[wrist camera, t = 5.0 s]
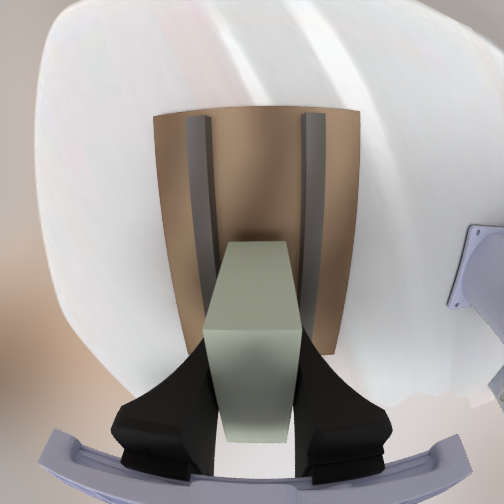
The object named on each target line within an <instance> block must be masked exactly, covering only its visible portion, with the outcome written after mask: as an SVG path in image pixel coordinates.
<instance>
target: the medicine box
mask: <svg viewBox="0 0 504 504" xmlns="http://www.w3.org/2000/svg"><path fill="white" fill-rule="evenodd" d="M489 387H490V389H491V390H492V392H493V394H494V396H495V397H496V399H497V401H498V403H499V405H500V407H501V408H502V411H503V412H504V366H503V367H502V369H501V370H500V371H499V372H498V373H497V375H496V376H495V377H494V378H493V379H492V381H491V382H490V383H489Z"/></svg>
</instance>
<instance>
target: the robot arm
mask: <svg viewBox="0 0 504 504" xmlns="http://www.w3.org/2000/svg"><path fill="white" fill-rule="evenodd" d="M477 230H478V231H477ZM476 232H477V233H476ZM471 306H472V307H473V308H474V309H475V310H476V311H477V312H478V314H479V315H480V316H481V317H482V318H483V319H484V320H485V322H486V323H487V324H488V325H489V326H490V328H491V329H492V330H493V331H494V332H495V334H496V335H497V336H498V337H499V339H500V340H501V341H502V342H503V344H504V227H492V226H478V225H472V226H471V227H470V228H469V231H468V236H467V240H466V245H465V249H464V253H463V257H462V260H461V264H460V268H459V271H458V275H457V278H456V281H455V284H454V287H453V290H452V293H451V296H450V299H449V302H448V308H449V309H450V310H453V309H459V308H465V307H471ZM301 325H302V324H301ZM293 410H294V426H295V478H285V479H243V478H226V477H215V476H214V457H215V441H216V429H217V420H218V412H219V407H218V403H217V399H216V394H215V390H214V385H213V380H212V376H211V371H210V366H209V361H208V356H207V351H206V346H205V340H204V337H203V339H202V340H201V341H200V343H199V344H198V345H197V347H196V348H195V349H194V351H193V352H192V353H191V354H190V355H189V356H188V358H187V359H186V360H185V361H184V362H183V363H182V364H181V365H180V366H179V367H178V368H177V369H176V370H175V371H174V372H173V373H172V374H171V375H170V376H169V377H167V378H166V379H165V380H164V381H163V382H161V383H160V384H159V385H157V386H156V387H155V388H153V389H152V390H150V391H149V392H147V393H145V394H144V395H142V396H141V397H139V398H137V399H135V400H133V401H131V402H129V403H127V404H125V405H123V406H121V408H120V410H119V411H118V413H117V415H116V417H115V420H114V422H113V425H112V427H111V433H112V435H113V437H114V438H115V439H116V440H117V441H118V443H119V444H120V445H121V446H122V447H123V448H124V452H123V455H122V458H119V457H116V456H113V455H110V454H107V453H104V452H101V451H98V450H95V449H93V448H90V447H87V446H85V445H82V444H81V443H80V442H79V440H78V439H76V438H75V437H74V436H72V435H70V434H68V433H66V432H63V431H61V430H59V429H57V428H55V429H54V430H53V432H52V434H51V436H50V438H49V440H48V442H47V444H46V446H45V449H44V451H43V453H42V455H41V457H40V459H39V461H38V464H39V465H40V466H41V467H43V468H44V469H45V470H47V471H48V472H49V473H51V474H52V475H54V476H55V477H56V478H58V479H59V480H61V481H62V482H64V483H65V484H67V485H70V486H71V487H73V488H75V489H77V490H79V491H81V492H84V493H86V494H88V495H90V496H93V497H95V498H97V499H99V500H101V501H104V502H106V503H109V504H417V503H419V502H422V501H424V500H427V499H429V498H431V497H434V496H436V495H438V494H440V493H442V492H444V491H446V490H448V489H449V488H451V487H453V486H454V485H456V484H457V483H459V482H460V481H462V480H463V479H465V478H466V477H467V476H469V475H470V474H472V472H473V471H472V468H471V466H470V463H469V460H468V457H467V455H466V452H465V449H464V447H463V445H462V442H461V439H460V437H459V435H458V434H456V435H453V436H451V437H448V438H446V439H443V440H441V441H439V442H437V443H436V444H435V445H433V446H432V447H431V448H430V450H428V451H426V452H423V453H420V454H417V455H414V456H411V457H408V458H404V459H401V460H397V461H394V462H390V463H386V464H384V460H383V456H382V455H383V454H384V448H383V445H384V443H385V442H386V440H387V439H388V438H389V437H390V435H391V434H392V430H393V429H392V425H391V422H390V420H389V418H388V416H387V414H386V412H385V410H383V409H382V408H380V407H378V406H377V405H375V404H373V403H371V402H370V401H368V400H367V399H365V398H364V397H362V396H361V395H360V394H358V393H357V392H356V391H355V390H353V389H352V388H351V387H350V386H349V385H347V384H346V383H345V382H344V381H343V380H342V379H341V378H340V377H339V376H338V375H337V374H336V373H335V372H334V371H333V370H332V368H331V367H330V366H329V365H328V364H327V362H326V361H325V360H324V359H323V357H322V356H321V355H320V353H319V352H318V350H317V349H316V347H315V346H314V344H313V343H312V341H311V339H310V338H309V336H308V334H307V332H306V330H305V328H304V326H303V325H302V336H301V345H300V354H299V362H298V370H297V378H296V385H295V392H294V399H293Z"/></svg>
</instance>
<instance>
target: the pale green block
mask: <svg viewBox="0 0 504 504" xmlns="http://www.w3.org/2000/svg"><path fill="white" fill-rule="evenodd" d="M203 335H204V340H205V346H206V351H207V356H208V361H209V366H210V371H211V376H212V380H213V385H214V390H215V394H216V399H217V403H218V407H219V412H220V416H221V420H222V424H223V428H224V432H225V436H226V440H227V442H237V443H286V442H287V435H288V430H289V424H290V418H291V412H292V406H293V399H294V392H295V385H296V378H297V370H298V362H299V354H300V345H301V336H302V325H301V320H300V314H299V308H298V302H297V297H296V291H295V286H294V280H293V275H292V270H291V265H290V259H289V254H288V249H287V244H286V241H253V242H228V245H227V248H226V251H225V255H224V258H223V261H222V265H221V268H220V271H219V275H218V278H217V281H216V285H215V288H214V291H213V295H212V298H211V302H210V305H209V309H208V312H207V316H206V319H205V323H204V326H203Z"/></svg>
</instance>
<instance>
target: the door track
mask: <svg viewBox="0 0 504 504" xmlns="http://www.w3.org/2000/svg"><path fill="white" fill-rule="evenodd" d="M153 124H154V141H155V155H156V167H157V178H158V187H159V196H160V205H161V213H162V220H163V228H164V235H165V241H166V248H167V254H168V260H169V266H170V271H171V277H172V282H173V288H174V293H175V298H176V303H177V308H178V312H179V317H180V321H181V326H182V330H183V335H184V339H185V343H186V347H187V351H188V354H191V353H192V352H193V351H194V349H195V348H196V347H197V345H198V344H199V343H200V341H201V340H202V339H203V337H204V335H203V326H204V323H205V319H206V316H207V312H208V309H209V305H210V302H211V298H212V295H213V291H214V288H215V285H216V281H217V278H218V275H219V271H220V268H221V265H222V261H223V258H224V255H225V251H226V248H227V245H228V242H253V241H286V244H287V249H288V254H289V259H290V265H291V270H292V275H293V280H294V286H295V291H296V297H297V302H298V308H299V314H300V320H301V324H302V325H303V326H304V328H305V330H306V332H307V334H308V336H309V338H310V339H311V341H312V343H313V344H314V346H315V347H316V349H317V350H318V352H319V353H320V355H332V354H334V353H335V348H336V344H337V339H338V334H339V330H340V325H341V320H342V314H343V309H344V304H345V298H346V292H347V286H348V279H349V273H350V266H351V259H352V251H353V243H354V234H355V224H356V213H357V201H358V187H359V167H360V111H354V110H344V109H333V108H319V107H298V106H250V107H229V108H215V109H204V110H195V111H186V112H178V113H171V114H164V115H158V116H153Z"/></svg>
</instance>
